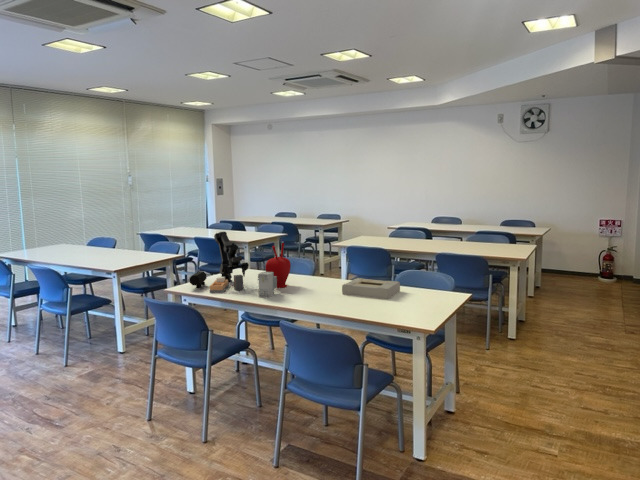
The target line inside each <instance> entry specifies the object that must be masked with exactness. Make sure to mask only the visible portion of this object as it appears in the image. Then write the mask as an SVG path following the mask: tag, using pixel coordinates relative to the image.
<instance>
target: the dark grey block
mask: <svg viewBox="0 0 640 480" xmlns="http://www.w3.org/2000/svg"><path fill="white" fill-rule="evenodd" d="M233 290H234V291H235V292H238V291H244V276H243V274H234V275H233Z"/></svg>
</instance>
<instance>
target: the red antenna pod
mask: <svg viewBox="0 0 640 480" xmlns="http://www.w3.org/2000/svg"><path fill="white" fill-rule="evenodd" d="M284 247H285V243H284V242H282V243H281V252H280V256H278V254H277V250H276V246H275V245H272V246H271V248H272V250H273V254H274V257H272V258H269V259H268V260H267V261H266V262H265V268H264V269H265V272H274V276H277V288H276V289H285V288H286V287H288V284H286V282H287V280H288V277H289V275H290V273H291V265H292V263H291V261H290V260H289V259H288V258H287V257H284Z"/></svg>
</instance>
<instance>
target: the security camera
mask: <svg viewBox="0 0 640 480" xmlns="http://www.w3.org/2000/svg"><path fill="white" fill-rule="evenodd" d="M206 280H207V273H206V272H205V271H199V270H198V271H197V272H195V273H194V274H192V275H191V276H190V277H189V284H190V285H192V286H195V289H200V288H201V287H202V286H205V285H206Z"/></svg>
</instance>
